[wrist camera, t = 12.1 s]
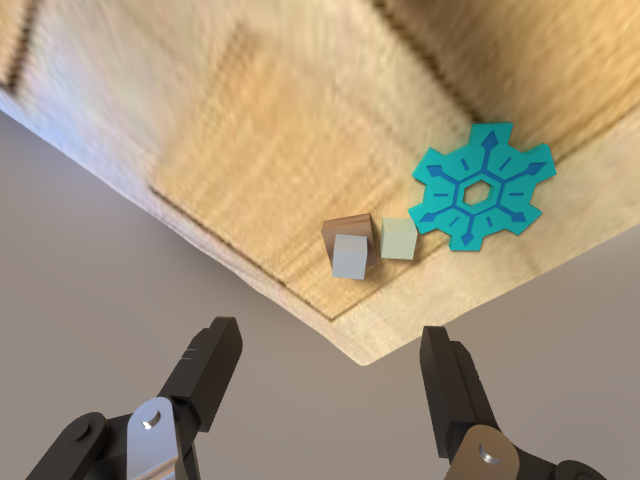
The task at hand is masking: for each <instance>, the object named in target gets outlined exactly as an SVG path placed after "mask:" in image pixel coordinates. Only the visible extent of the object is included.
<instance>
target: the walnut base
mask: <svg viewBox="0 0 640 480" xmlns="http://www.w3.org/2000/svg"><path fill="white" fill-rule="evenodd" d="M336 234H342V235H354V236H366V237H367V259H366V265H374V264H377V253H376V247H375V242H374V236H373V231H372V225H371V219H370V214H369V213H368V214H362V215H356V216H351V217H345V218H339V219H333V220H327V221H324V223H323V227H322V235H323V238H324V242H325V246H326V249H327V253H328V256H329V260H330V264H331V267H332V269H333V254H334V245H335V238H336Z"/></svg>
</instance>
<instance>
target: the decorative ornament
mask: <svg viewBox="0 0 640 480" xmlns="http://www.w3.org/2000/svg"><path fill="white" fill-rule="evenodd" d="M512 127H513V124H512V123H509V122H502V123H479V124H472V129H471V134H470V138H469V143H468V144H467V145H465V146H463V147H461V148H459V149H457V150H455V151H453V152H451V153H449V154H447V155H445V156H444V155H443V154H441V153H439V152H438V151H436V150H434V149H433V148H431V147H430V148H429V150H428V151H427V153H426V154H425V156H424V157H423V159H422V160H421V162H420V163H419V165H418V166H417V167H416V169H415V170H414V172H413V173H412V175H413V177H414V178H416V179H418V180H419V181H421V182H423V183H425V184H426V185H425V191H424V198H423V203H421V204H419V205H417V206H414V207H412V208H410V209H408V212H409V214H410V216H411V218H412V220H413V221H414V223H415V225H416V227H417V228H418V230H419V232H420V234H423V233H426V232H428V231H431V230H433V229H436V228H438V229H440V230H442V231H444V232H446V233H448V234H450V235H451V236H450V241H449V248H450V250H477V251H479V250H480V246H481V243H482V239H483V237H484V236H486V235H489V234H492V233H494V232H497V231H500V230H502V229H505V228H506V229H508V230H509V231H511V232H513V233H515V234H517V235H519V234H520V233H521V232H523V231H524V230H525V229H526V228H527V227H528V226H529V225H530V224H531V223H532V222H533V221H534V220H535V219H536V218H538V217H539V216H540V215H541V214H542V212H541V211H540V210H539V209H537V208H535V207H533V206H532V205H530V204H529V202H530V199H531V197H532V194H533V191H534V188H535V186H536V183H539V182H541V181H543V180H545V179H547V178H549V177H552V176H554V175H556V174H557V173H556V170H555V166H554V162H553V159H552V155H551V152H550V148H549V146H548V145H546V144H544V143H542V144H540V145H538V146H536V147H534V148H532V149H530V150H528V151H526V152H524V153H521V152H519V151H518V150H516V149H514V148H513V147H511V146H509V145H508V141H509V137H510V134H511V130H512ZM481 179H482V180H483V181H485V182H487V183H489V184H491V188H490V191H489V194H488V198H487V199H486V200H484V201H481V202H479V203H477V204H475V205H472V206H471V205H469V204H467V203H465V202H464V201H463V196H464V190H465V187H467V186H469V185H471V184H473V183H475V182H477V181H479V180H481Z"/></svg>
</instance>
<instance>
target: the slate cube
mask: <svg viewBox="0 0 640 480" xmlns="http://www.w3.org/2000/svg"><path fill="white" fill-rule="evenodd" d="M366 259H367V237H366V236H354V235H342V234H336V238H335V245H334V254H333V269H332V277H340V278H350V279H360V280H364V274H365V267H366Z"/></svg>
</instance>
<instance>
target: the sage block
mask: <svg viewBox="0 0 640 480" xmlns="http://www.w3.org/2000/svg"><path fill="white" fill-rule="evenodd" d="M417 234H418V232H417V229H416V227H415V224H414V221H413V220H412V218H390V217H382V225H381V234H380V251H381V258H393V259H410V260H413V255H414V250H415V244H416V239H417Z"/></svg>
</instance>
